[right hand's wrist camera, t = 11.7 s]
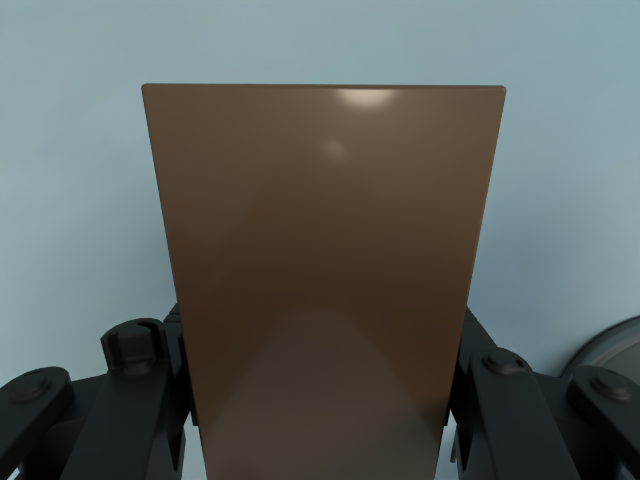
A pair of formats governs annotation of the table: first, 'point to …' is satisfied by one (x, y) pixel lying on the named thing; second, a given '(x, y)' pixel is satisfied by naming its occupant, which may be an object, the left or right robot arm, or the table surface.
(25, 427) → the right robot arm
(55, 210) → the table surface
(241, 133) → the bar
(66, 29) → the table surface
